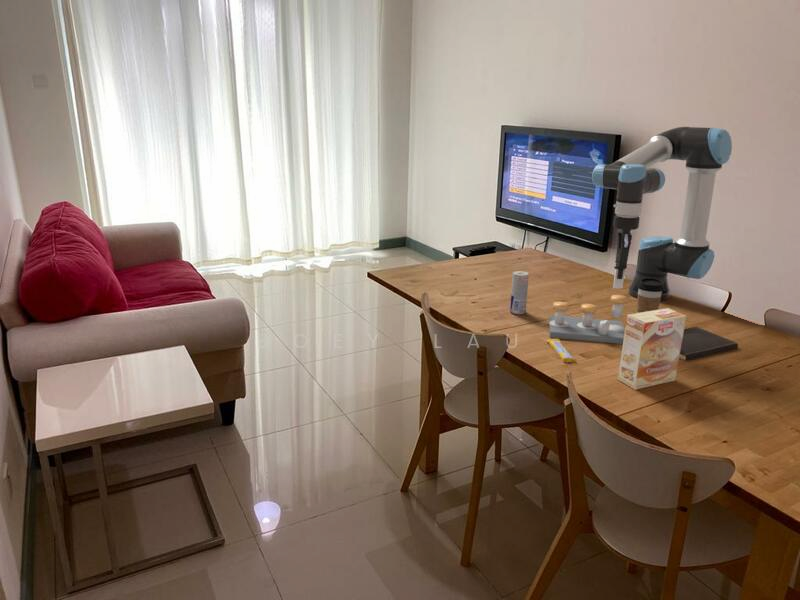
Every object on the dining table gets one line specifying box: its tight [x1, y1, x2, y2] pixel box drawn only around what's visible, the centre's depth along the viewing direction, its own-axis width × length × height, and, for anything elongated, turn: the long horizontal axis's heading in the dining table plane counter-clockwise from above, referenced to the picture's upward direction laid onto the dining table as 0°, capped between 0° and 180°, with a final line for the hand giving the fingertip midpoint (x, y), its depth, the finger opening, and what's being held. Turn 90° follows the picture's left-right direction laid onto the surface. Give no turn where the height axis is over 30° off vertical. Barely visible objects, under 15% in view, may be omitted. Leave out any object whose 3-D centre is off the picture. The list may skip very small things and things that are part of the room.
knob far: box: [552, 301, 570, 324], centre depth 205 cm, size 5×5×7 cm
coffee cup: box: [636, 278, 663, 313], centre depth 213 cm, size 8×8×15 cm
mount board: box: [548, 314, 625, 345], centre depth 205 cm, size 24×16×2 cm, turn 78°
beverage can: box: [509, 270, 529, 315], centre depth 221 cm, size 6×6×15 cm
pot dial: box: [598, 319, 610, 336], centre depth 197 cm, size 3×3×4 cm
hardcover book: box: [679, 326, 739, 362], centre depth 195 cm, size 16×23×2 cm
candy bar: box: [546, 338, 577, 364], centre depth 189 cm, size 17×4×2 cm, turn 5°
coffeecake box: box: [617, 307, 687, 391], centre depth 168 cm, size 15×7×20 cm, turn 114°
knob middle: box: [580, 303, 598, 327], centre depth 204 cm, size 5×5×7 cm
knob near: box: [610, 294, 628, 319], centre depth 201 cm, size 5×5×7 cm
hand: (617, 287), depth 199 cm, fingers closed
